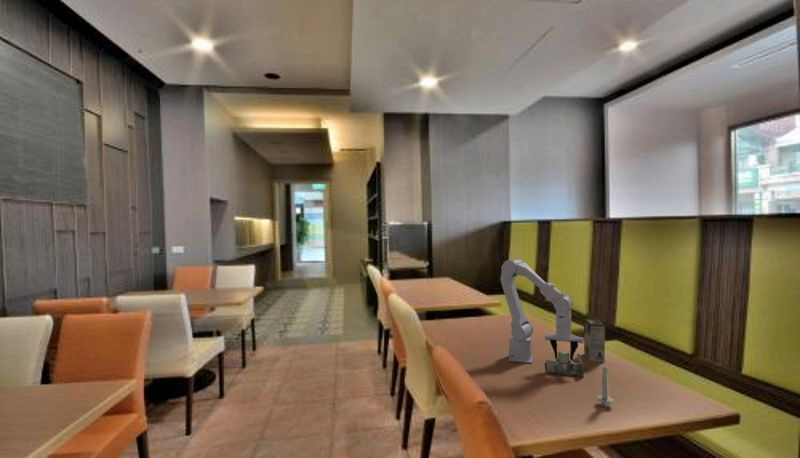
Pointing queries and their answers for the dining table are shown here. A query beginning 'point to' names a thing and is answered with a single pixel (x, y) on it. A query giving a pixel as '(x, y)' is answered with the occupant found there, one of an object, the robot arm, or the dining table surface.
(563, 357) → the grey-green rounded cylinder
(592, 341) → the coffee box
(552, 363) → the cup bracket
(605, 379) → the screw
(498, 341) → the dining table surface
